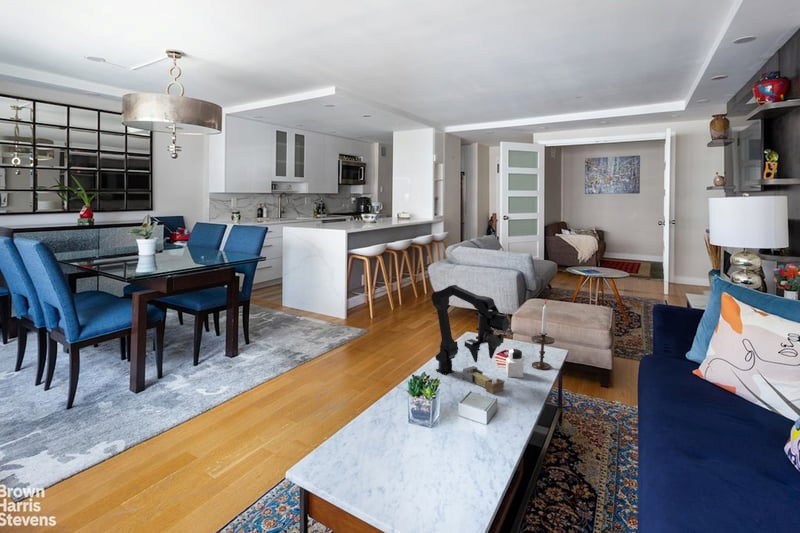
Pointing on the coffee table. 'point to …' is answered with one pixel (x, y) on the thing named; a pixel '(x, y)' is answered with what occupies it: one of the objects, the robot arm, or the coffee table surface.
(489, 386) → the socket
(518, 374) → the medicine bottle
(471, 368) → the sleeve
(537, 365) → the candlestick
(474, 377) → the bar
